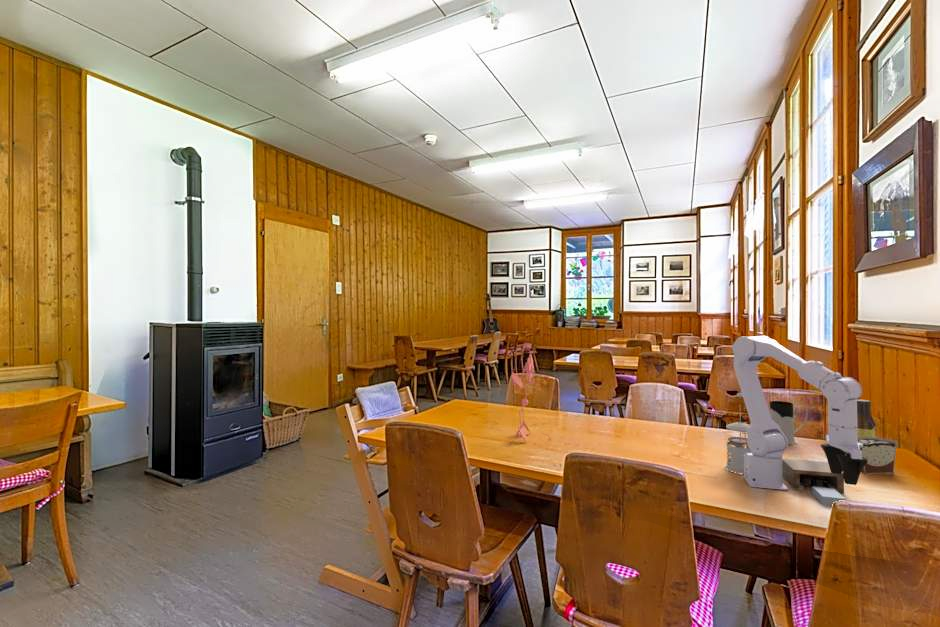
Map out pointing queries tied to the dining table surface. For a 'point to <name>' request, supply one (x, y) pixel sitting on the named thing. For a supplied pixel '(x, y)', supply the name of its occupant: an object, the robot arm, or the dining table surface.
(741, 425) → the french press
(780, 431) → the robot arm
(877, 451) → the food container
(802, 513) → the dining table surface
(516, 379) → the figurine
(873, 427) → the sauce bottle
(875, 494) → the dining table surface
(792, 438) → the glass holder
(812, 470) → the overhang shelf
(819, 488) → the grey rectangular block
